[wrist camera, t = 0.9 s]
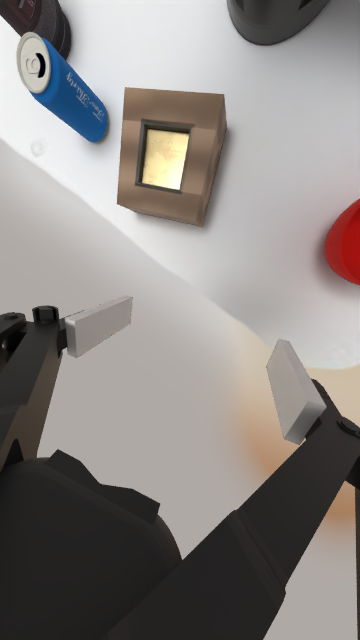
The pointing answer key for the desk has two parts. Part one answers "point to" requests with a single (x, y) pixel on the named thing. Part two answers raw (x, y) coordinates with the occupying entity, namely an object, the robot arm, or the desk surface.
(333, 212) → the desk surface
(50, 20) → the camera lens
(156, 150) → the gold metal plaque
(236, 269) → the desk surface
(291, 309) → the desk surface
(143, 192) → the socket block
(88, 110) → the beverage can
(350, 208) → the ceramic cup
